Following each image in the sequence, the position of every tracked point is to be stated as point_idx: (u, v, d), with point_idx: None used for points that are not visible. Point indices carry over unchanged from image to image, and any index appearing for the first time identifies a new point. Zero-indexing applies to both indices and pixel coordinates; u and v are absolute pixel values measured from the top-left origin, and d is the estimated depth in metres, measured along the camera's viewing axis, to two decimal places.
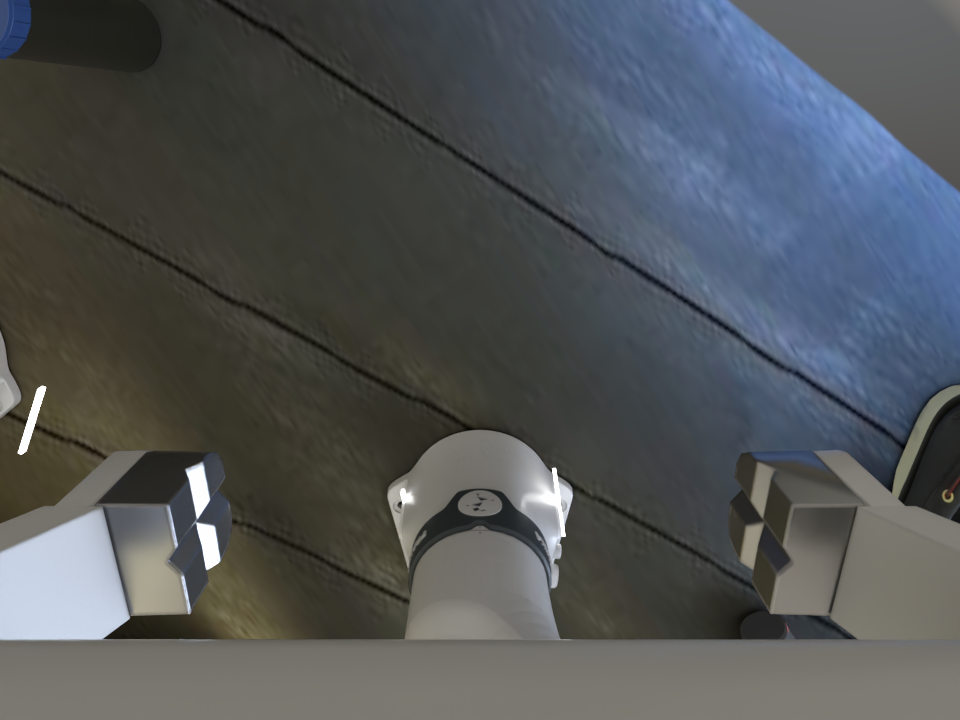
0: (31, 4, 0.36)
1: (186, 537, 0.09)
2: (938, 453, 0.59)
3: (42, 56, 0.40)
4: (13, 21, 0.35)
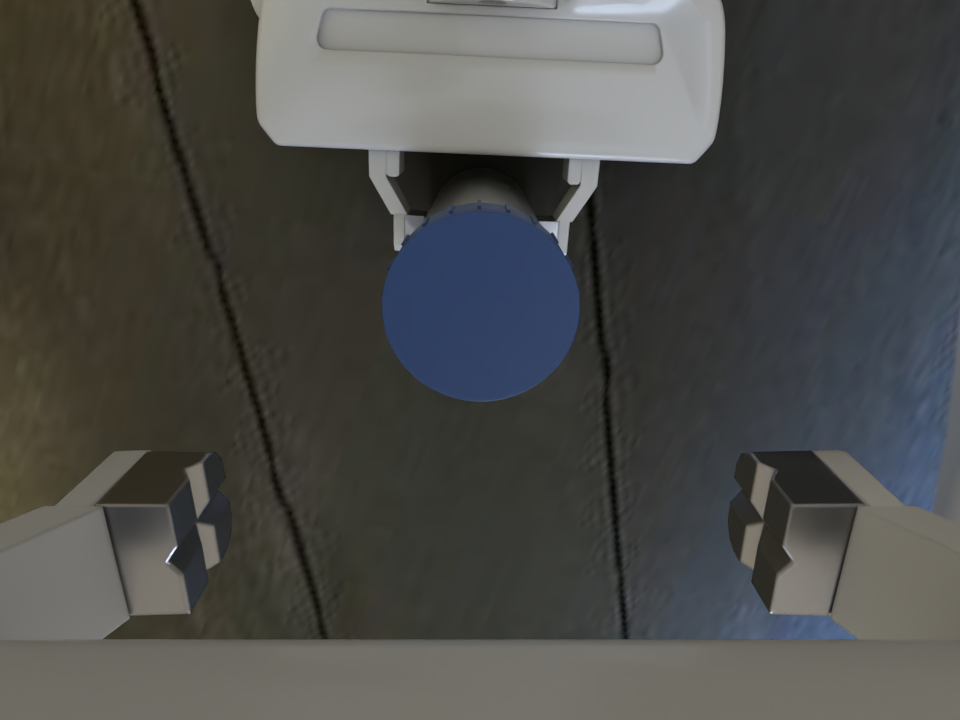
0: None
1: (186, 537, 0.09)
2: None
3: None
4: None
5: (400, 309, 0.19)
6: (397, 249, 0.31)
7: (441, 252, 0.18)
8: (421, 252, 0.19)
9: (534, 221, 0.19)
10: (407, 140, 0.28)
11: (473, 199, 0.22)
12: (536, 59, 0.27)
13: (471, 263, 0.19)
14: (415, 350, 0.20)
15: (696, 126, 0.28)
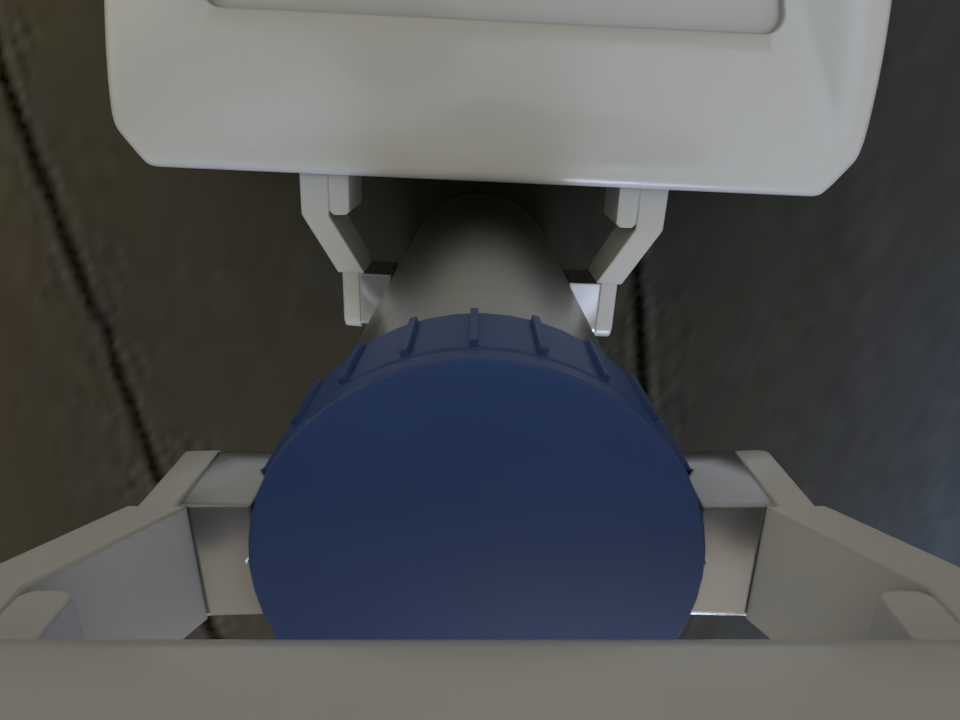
0: None
1: None
2: None
3: None
4: None
5: (291, 567, 0.08)
6: (350, 324, 0.20)
7: (381, 451, 0.08)
8: (333, 451, 0.08)
9: (603, 371, 0.08)
10: (359, 158, 0.17)
11: (463, 282, 0.12)
12: (570, 24, 0.16)
13: (454, 475, 0.08)
14: None
15: (832, 137, 0.17)
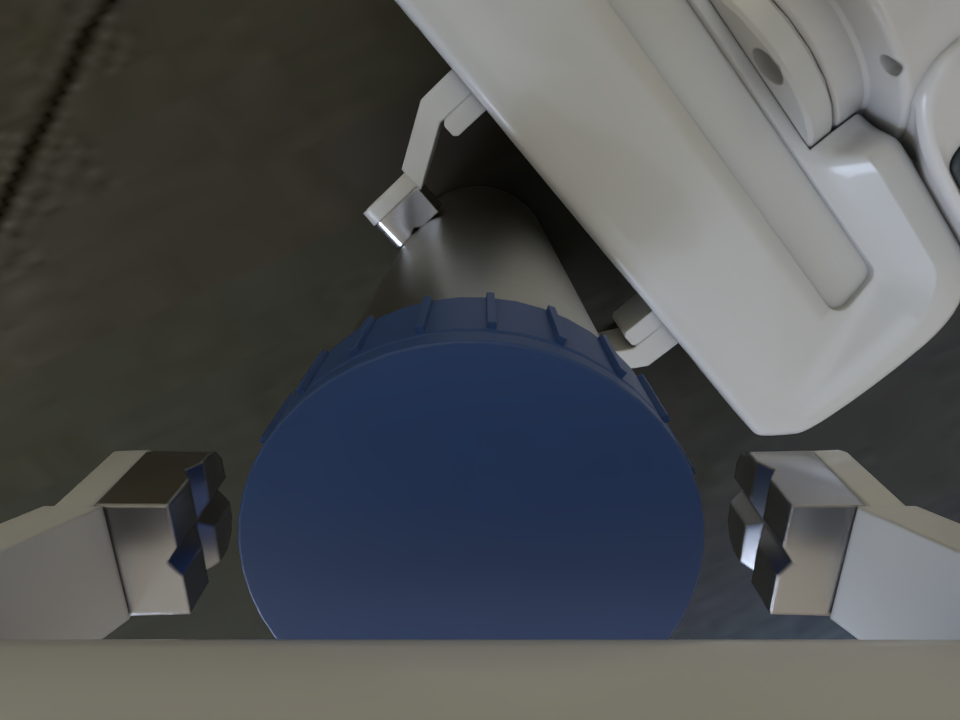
0: None
1: (186, 537, 0.09)
2: None
3: None
4: None
5: (309, 623, 0.09)
6: (367, 215, 0.19)
7: (320, 488, 0.08)
8: (280, 506, 0.08)
9: (489, 320, 0.08)
10: (511, 110, 0.17)
11: (569, 300, 0.12)
12: (733, 176, 0.18)
13: (396, 481, 0.08)
14: None
15: (800, 407, 0.20)
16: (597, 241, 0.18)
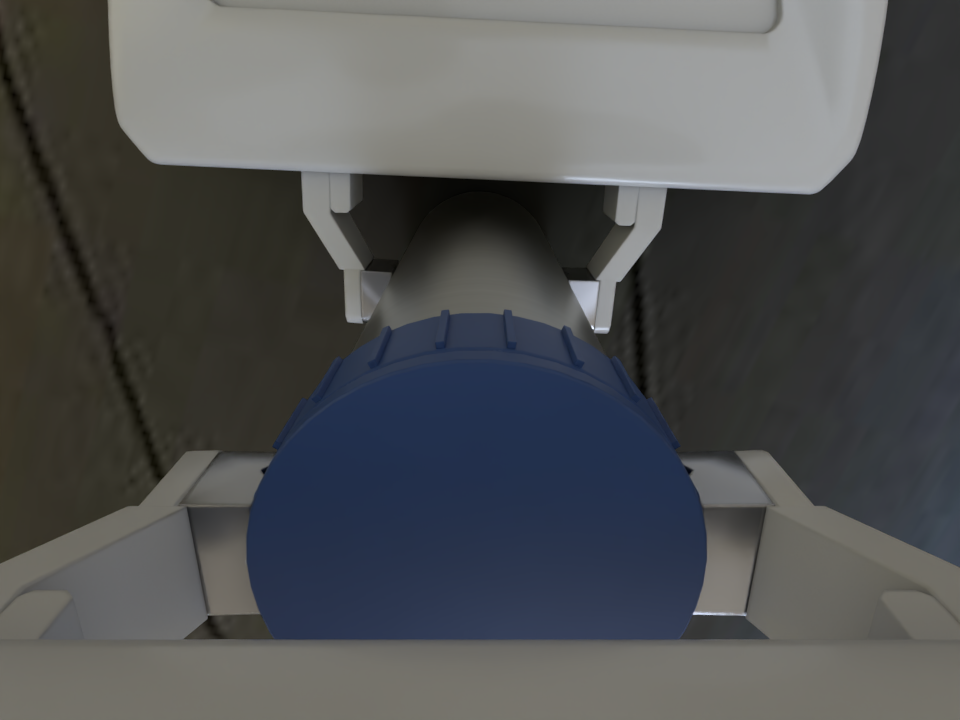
0: None
1: None
2: None
3: None
4: None
5: None
6: (351, 321, 0.20)
7: (321, 609, 0.08)
8: None
9: (315, 395, 0.08)
10: (360, 157, 0.17)
11: (464, 278, 0.12)
12: (570, 23, 0.16)
13: (362, 563, 0.08)
14: None
15: (828, 135, 0.17)
16: (518, 180, 0.18)
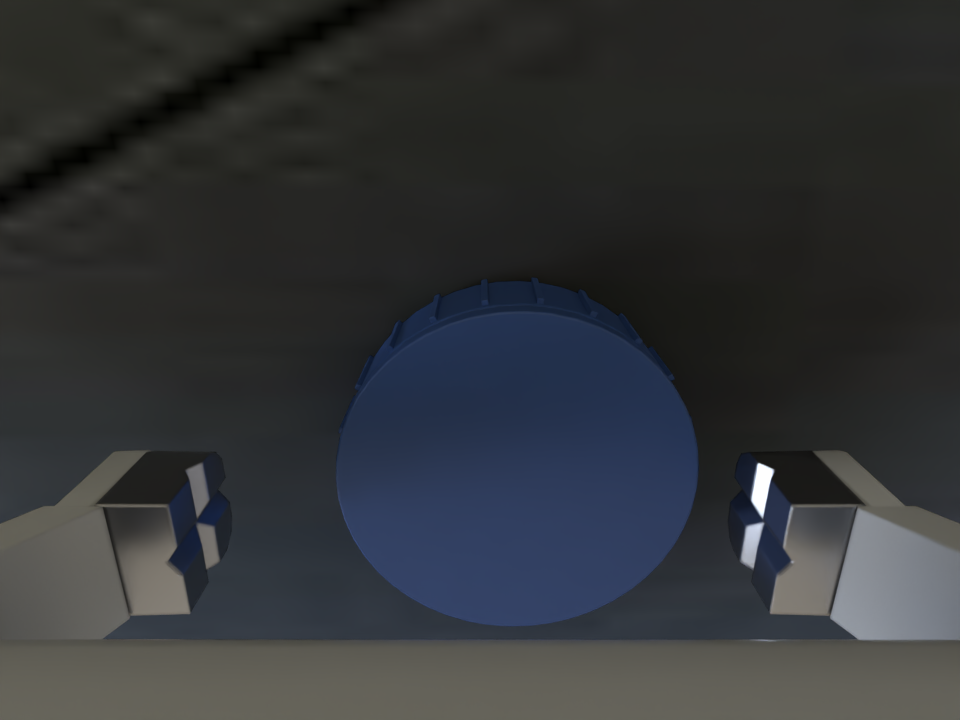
0: None
1: (186, 537, 0.09)
2: None
3: None
4: None
5: (474, 597, 0.11)
6: None
7: (395, 518, 0.11)
8: (387, 545, 0.11)
9: (388, 346, 0.10)
10: None
11: None
12: None
13: (426, 478, 0.10)
14: (552, 595, 0.11)
15: None
16: None
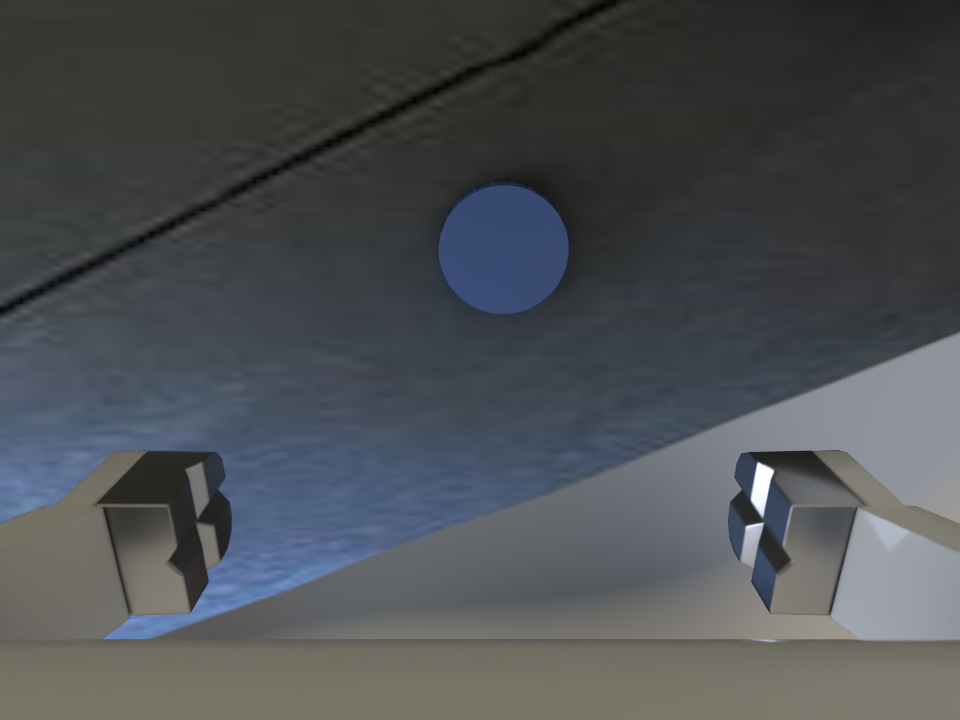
0: None
1: (186, 537, 0.09)
2: None
3: None
4: None
5: (488, 300, 0.30)
6: None
7: (459, 265, 0.29)
8: (456, 277, 0.30)
9: (458, 201, 0.29)
10: None
11: None
12: None
13: (471, 249, 0.29)
14: (517, 300, 0.30)
15: None
16: None
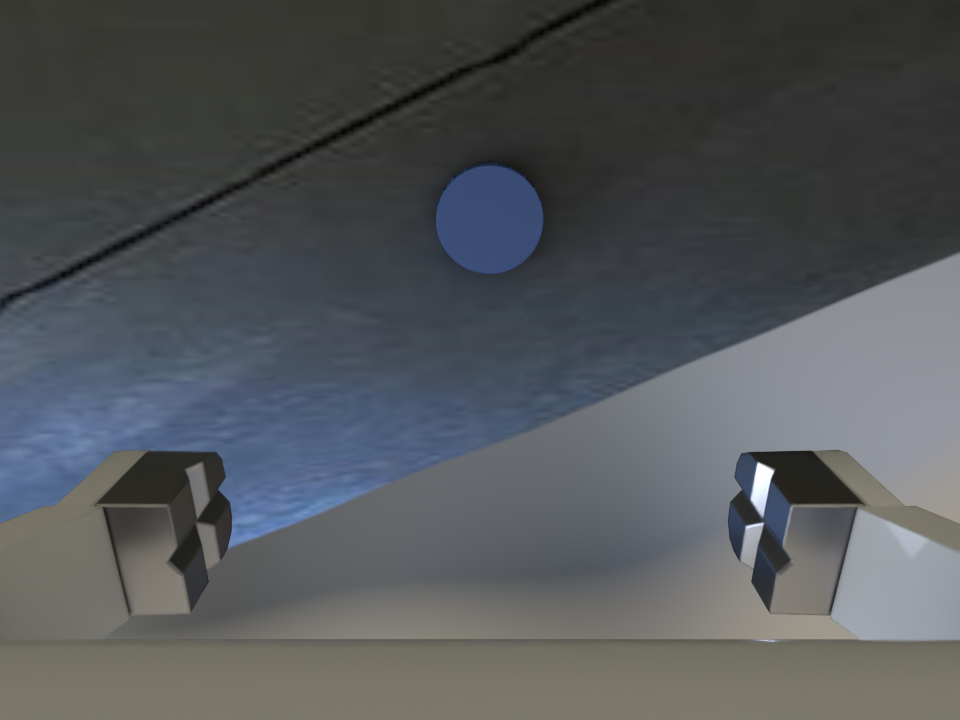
0: None
1: (186, 537, 0.09)
2: None
3: None
4: (542, 218, 0.36)
5: (477, 262, 0.36)
6: None
7: (453, 232, 0.36)
8: (450, 242, 0.36)
9: (451, 179, 0.35)
10: None
11: None
12: None
13: (463, 219, 0.35)
14: (501, 261, 0.36)
15: None
16: None
